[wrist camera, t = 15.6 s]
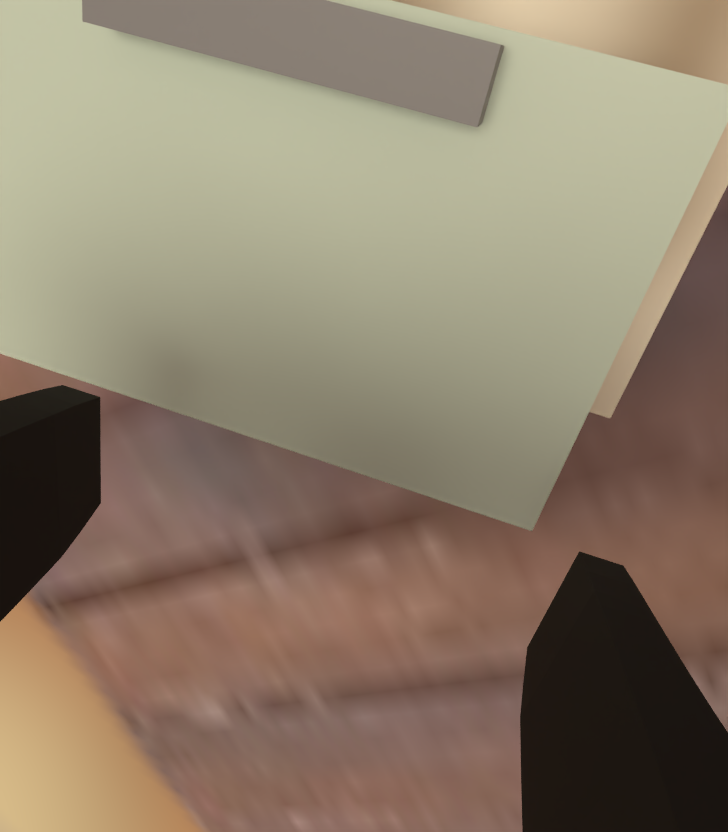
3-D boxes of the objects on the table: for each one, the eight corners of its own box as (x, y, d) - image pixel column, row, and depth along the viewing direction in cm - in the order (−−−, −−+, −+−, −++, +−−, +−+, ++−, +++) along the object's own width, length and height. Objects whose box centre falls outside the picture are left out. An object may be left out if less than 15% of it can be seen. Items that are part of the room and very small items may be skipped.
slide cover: (679, 81, 12) (761, 90, 8) (535, 418, 16) (531, 558, 12) (106, -63, 14) (-122, -131, 9) (107, 283, 18) (-49, 361, 13)
